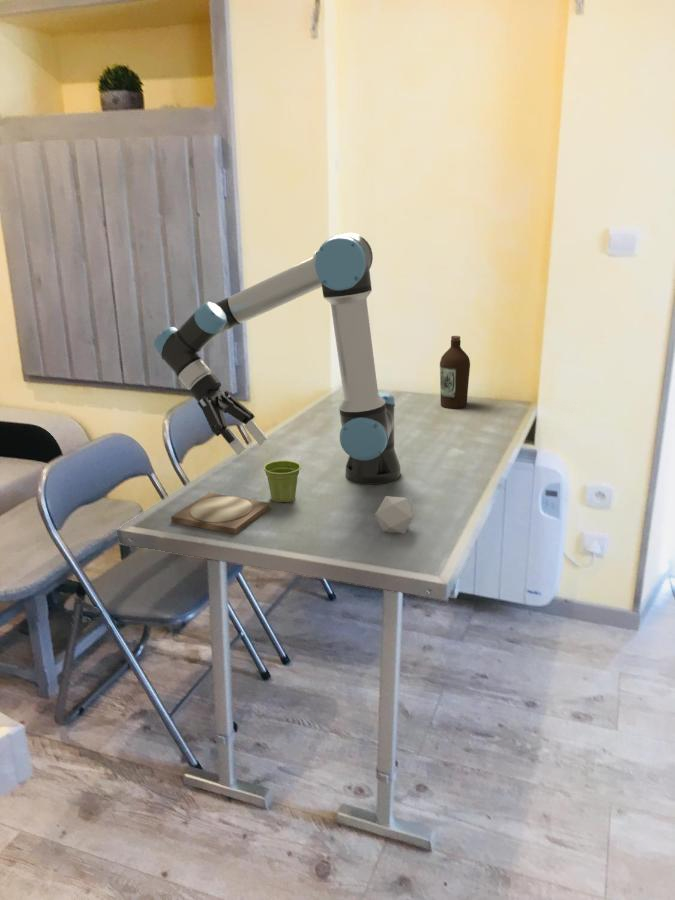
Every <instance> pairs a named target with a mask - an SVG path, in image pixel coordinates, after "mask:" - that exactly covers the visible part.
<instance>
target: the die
mask: <svg viewBox="0 0 675 900" xmlns="http://www.w3.org/2000/svg"><path fill="white" fill-rule="evenodd" d="M375 516H376V518H377V521H378V523H379V525H380V527H381V530H382V532H385V533H395V534H403V535H404V534H406V533H407V530H409V526H410V525H411V523H412V522H413V521H414V518H415V514H414V511H413V509H412V505H411V504H410V501H409V499H408V497H402V496H401V497H400V496H389V495H385V497H384V498H383V499H382V502H381V503H380V505H379V507H378V508H377V510H376V512H375Z"/></svg>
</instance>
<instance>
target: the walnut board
mask: <svg viewBox="0 0 675 900" xmlns="http://www.w3.org/2000/svg"><path fill="white" fill-rule="evenodd" d="M270 509H271V503H270V502H267V501H261V500H254V499H249V498H244V497H243V498H242V497H237V496H232V495H225V494H221V493H220V494H219V493H214V492H208V493H206V494H204V495H203V496H201V497H199V498H197V500H194V501H193V502H191V503H190V504H188V505H187V506H185V507H183V508H182V509H180V510H179V511H177V512H176V513H174V514H172V515H171V523H175V524H178V525H185V526H189V527H191V526H192V527H194V528H195V527H196V528H200V529H206V530H211V531H217V532H222V533H226V534H232V535H238V534H239V533H240V532H241V531H242V530H244V529H245V528H247V527H248V526H249V525H250V524H252V523H253V522H254V521H255V520H256V521H257V519H259V518H260V517H261V516H262V515H264V514H265V513H266V512H268V511H269V510H270Z"/></svg>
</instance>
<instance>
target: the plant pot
mask: <svg viewBox="0 0 675 900" xmlns="http://www.w3.org/2000/svg"><path fill="white" fill-rule="evenodd" d="M301 469H302V466H301V464H300V463H298V462H297V461H292V460H276V461H270V462H267V463H266V464H265V465H264V466H263V471H265V475H266V478H267V481H268V486H269V487H268V488H269V491H270V493H269V494H270V497H271V500H272V502H273V501H274V502H276V503H282V502H284V503H289V502H292V501H294V500H295V499H296V497H297V494H296V493H297V485H298V479H299V477H298V476H299V473H300V470H301Z"/></svg>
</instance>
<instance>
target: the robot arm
mask: <svg viewBox="0 0 675 900" xmlns="http://www.w3.org/2000/svg"><path fill="white" fill-rule="evenodd" d="M373 255H374V254H373V251H372V247H371V245H370V244H369V242H368V241H367V240H366V239H365V238H364V237H363V236H361V235H360V234H357V233H355V232H354V233H353V232H346V233H342V234H337V235H335V236H331V237H329V238H328V239H326V240H325V241H324V242H323V243H321V246H320V247H319V248H318V250H316V251H314V254H313V257H311V258H308V259H306V260H304V261H302V262H300V263H297V264H296V265H293V266H292V267H290V268H287V269H285V270H283V271H281V272H279V273H277V274H275V275H272V276H270V277H268V278H266V279H264V280H262V281H260V282H258V283H256V284H254V285H251V286H250V287H248V288H245V289H243V290H241V291H239V292H237V293H235V294H232V295H230V296H228V297H227V298H224V299H222V300H220V301H217V302H215V303H214V302H211V301H205V302H204V303H203V304H202V305H200V307H198V308H196V309H195V311H194V312H193V314H192V315H191V316H189V318H188V319H187V320H186V321H185V322H183V324H182V325H181V326H180V327H179V328H177V327H175V326H170V327H168V328H165V329H164V330H163V331H161V332H160V333H159V334H157V335H156V337H155V338H154V341H153V347H154V348H155V350H156V352H157V353H158V354H159V356H160V358H161V359H162V361H164V362H165V364H166V365H168V367H169V368H170V369H171V370H172V371H173V373H174V374H175V376H177V378H178V380H180V382H181V385H183V386H185V388H186V389H187V390H190V391H189V393H190V394H191V396H193V398H194V400H196V402H197V405H198V406H199V407H200V409H201V411H202V412H203V415H204V416H205V419H206V421H207V423H208V426H209V428H210V430H211V431H212V433H214V434H215V436H216V437H220V435H221V436H222V438H223V439H224V440H225V441H226V442H227V444H228V445H229V446H230V448H231V449H232V450H233V451H234V453H235V454H236V455H237V456H239V455H240V454H241V453H243V452H244V450H246V449H247V446H245V444H244V443H243V442H242V440H241V439H240V438H239V437H238V436H237V434H236V433H235V432H234V431H233V430H232V428H231V427H230V426H229V427H228V426H227V423H226V419H225V415H224V414H226V413H227V414H228V415H231V417H233V418H235V419H236V420H238V421H239V422H241V423H243V424H244V426H243V427H244V428H245V430H247V432H248V433H249V434H250V435H251V436H252V438H253V439H254V441H256V443H257V444H258V445H259V446H261V445H262V444H264V442H266V441H267V440H268V436H267V435H265V433H264V432H263V430H262V429H261V428H260V427H259V426H258V425H257V423H256V422H255V421H254V418H255V415H254V414H253V412H252V411H250V410H249V409H248V408H247V407H245V405H243V404H242V403H241V402H240V401H238V400H237V399H236V398H235V397H234V396H233V395H232V394H231V393H230V392H229V391H228V390H225V391H224V392H222V391H221V390H220V389H221V387H222V382H221V381H220V380H219V379H218V377H217V376H216V375H215V374H214V373H212V370H211V369H210V368H209V366H208V365H207V364H206V363H205V362H204V360H203V359H202V358H201V356H200V355H199V352H200V351H202V350H203V348H205V346H206V345H207V344H208V343H209V342H210V341H212V340H213V339H215V338H216V337H217V336H219V335H221V334H222V333H224V332H227V331H228V330H231V329H233V328H235V327H236V326H239V325H241V324H243V323H245V322H248V321H250V320H252V319H254V318H256V317H259V316H261V315H263V314H265V313H267V312H270V311H272V310H274V309H277V308H278V307H280V306H282V305H284V304H288V303H289V302H291V301H293V300H296V299H297V298H300V297H303V296H304V295H305V296H306V295H307V294H309V293H311V292H314V291H316V290H318V289H320V288H321V290H322V296H323V298H324V299H325V300H326V301H327V302H328V303H330V307H331V316H332V322H333V328H334V336H335V344H336V349H337V350H336V351H337V358H338V363H339V364H338V365H339V371H340V372H339V373H340V379H341V386H342V393H343V400H342V402H341V403H340V405H339V406H338V411H339V416H340V417H339V418H340V424H341V429H340V431H339V441H340V442H339V443H340V446H341V448H342V449H343V451H344V453H345V454H347V455H348V458H347V461H346V464H345V477H346V478H347V479H349V480H350V481H352V482H354V483H359V484H366V485H379V484H380V485H381V484H387V483H390V482H394V481H395V480H398V479H399V478H400V476H401V463H400V461H399V459H398V455H397V453H396V449H395V407H396V404H395V397H394V395H392V394H391V393H387V392H380V391H379V390H378V381H377V374H376V365H375V358H374V351H373V341H372V333H371V326H370V325H371V324H370V317H369V310H368V299H367V298H368V296H369V295H370V294H371V293H372V281H371V272H370V269H371V267H372V265H373V259H374V258H373Z"/></svg>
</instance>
